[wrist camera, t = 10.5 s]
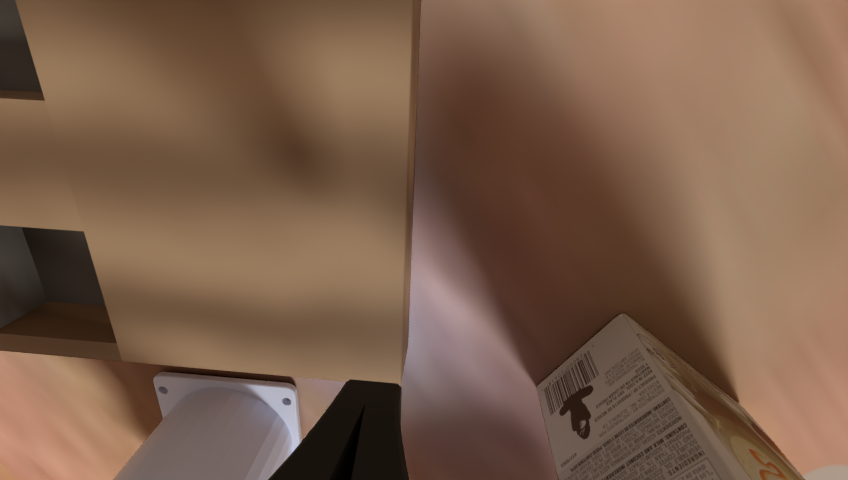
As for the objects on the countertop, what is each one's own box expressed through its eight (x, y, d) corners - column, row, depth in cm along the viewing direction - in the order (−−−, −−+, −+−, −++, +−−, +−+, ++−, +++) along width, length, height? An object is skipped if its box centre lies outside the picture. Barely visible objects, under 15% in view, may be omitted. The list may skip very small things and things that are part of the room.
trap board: (407, 344, 21) (400, 386, 18) (-133, 299, 23) (-214, 331, 20) (424, -84, 14) (416, -120, 11) (-359, -109, 16) (-533, -146, 13)
